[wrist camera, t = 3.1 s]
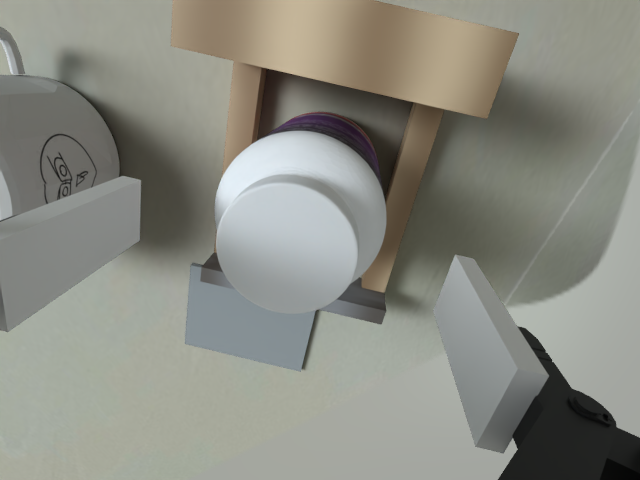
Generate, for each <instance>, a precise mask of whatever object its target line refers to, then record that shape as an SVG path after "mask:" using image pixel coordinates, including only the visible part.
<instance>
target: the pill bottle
mask: <svg viewBox="0 0 640 480" xmlns="http://www.w3.org/2000/svg"><path fill="white" fill-rule="evenodd" d="M215 223H216V229H217V235H216V251H217V256H218V260H219V263H220V266H221V269H222V270H223V272H224V274H225V276H226V278H227V279H228V281H229V282H230V283H231V285H232V286H233V287H234V288H235V289H236V290H237V291H238V292H239V293H240V294H241V295H242V296H244V297H245V298H246V299H247V300H249V301H251V302H252V303H254V304H256V305H258V306H260V307H262V308H265V309H267V310H270V311H274V312H279V313H286V314H299V313H307V312H312V311H315V310H318V309H320V308H323V307H325V306H327V305H329V304H330V303H332V302H333V301H335V300H336V299H337V298H338V297H339V296H340V295H342V293H343V292H344V291H345V290H346V289H347V287H348V286H349V285H350V284H351V283H352V282H354V281H355V280H356V279H358V278H359V277H360V276H361V275H362V274H363V273H364V272H365V271H366V270H367V269H368V268H369V267H370V265H371V264H372V263H373V261H374V260H375V258H376V256H377V254H378V252H379V250H380V248H381V246H382V243H383V239H384V235H385V230H386V204H385V199H384V194H383V189H382V183H381V178H380V171H379V165H378V159H377V155H376V152H375V149H374V147H373V145H372V143H371V141H370V139H369V138H368V136H367V135H366V134H365V132H364V131H363V130H362V129H361V128H360V127H359V126H358V125H356V124H355V123H354V122H352V121H351V120H349V119H347V118H346V117H343V116H341V115H338V114H335V113H331V112H311V113H306V114H302V115H299V116H297V117H294V118H292V119H291V120H289V121H287V122H286V123H284V124H283V125H281V126H280V127H278V128H276V129H275V130H273V131H272V132H270V133H269V134H267V135H266V136H264V137H262V138H261V139H259V140H257V141H256V142H254V143H253V144H251V145H250V146H248V147H247V148H246V149H245V150H243V151H242V152H241V153H240V154H239V155H238V156H237V157H236V158H235V159H234V160H233V161H232V163H231V164H230V165H229V167H228V168H227V170H226V171H225V173H224V175H223V176H222V179H221V181H220V184H219V187H218V190H217V194H216V199H215Z"/></svg>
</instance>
